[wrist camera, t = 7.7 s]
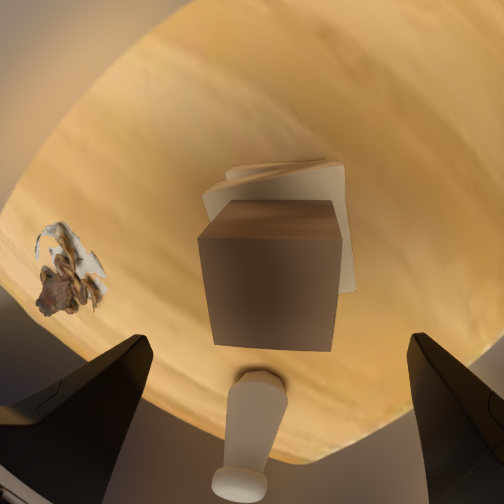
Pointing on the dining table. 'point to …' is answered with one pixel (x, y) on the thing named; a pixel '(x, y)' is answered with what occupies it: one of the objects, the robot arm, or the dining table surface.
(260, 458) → the salt shaker
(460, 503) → the robot arm
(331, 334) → the walnut cube
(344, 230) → the beech slab upper
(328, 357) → the dining table surface
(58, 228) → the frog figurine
